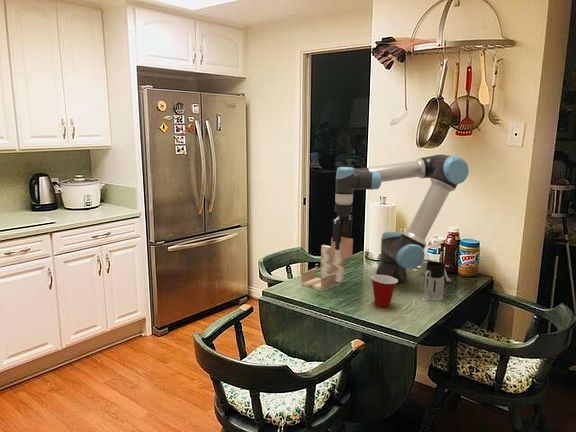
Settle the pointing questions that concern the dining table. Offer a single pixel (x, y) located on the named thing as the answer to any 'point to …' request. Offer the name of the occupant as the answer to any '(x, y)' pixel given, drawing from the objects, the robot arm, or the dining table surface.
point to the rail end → (343, 247)
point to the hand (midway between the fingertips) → (341, 255)
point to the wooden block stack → (325, 271)
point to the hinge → (424, 266)
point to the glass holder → (434, 281)
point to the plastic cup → (383, 289)
